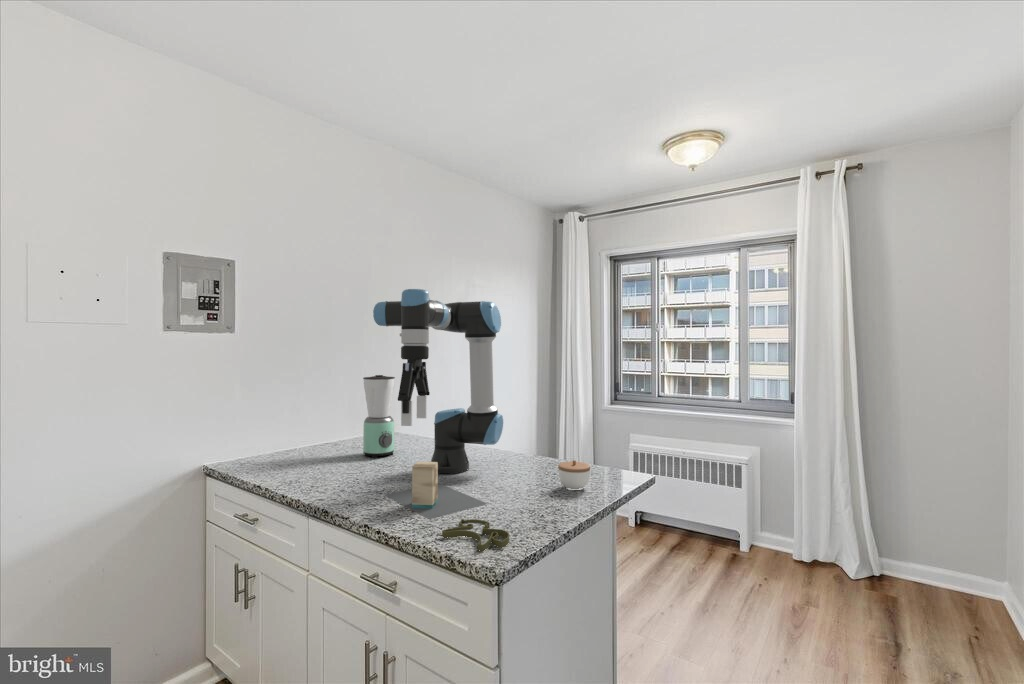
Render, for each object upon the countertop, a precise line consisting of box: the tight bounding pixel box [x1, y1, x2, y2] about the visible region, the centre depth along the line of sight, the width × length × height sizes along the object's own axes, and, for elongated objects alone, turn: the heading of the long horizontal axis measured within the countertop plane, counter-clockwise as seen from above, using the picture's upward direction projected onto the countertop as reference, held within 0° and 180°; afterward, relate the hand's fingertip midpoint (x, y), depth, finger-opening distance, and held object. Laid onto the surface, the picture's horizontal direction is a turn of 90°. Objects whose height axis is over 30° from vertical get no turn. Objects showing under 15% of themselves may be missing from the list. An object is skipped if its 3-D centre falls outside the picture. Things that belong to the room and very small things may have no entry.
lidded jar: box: [557, 459, 591, 489], centre depth 163 cm, size 11×11×9 cm
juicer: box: [362, 374, 396, 459], centre depth 213 cm, size 19×13×35 cm
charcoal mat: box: [384, 482, 488, 520], centre depth 148 cm, size 20×28×1 cm
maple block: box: [411, 461, 439, 509], centre depth 143 cm, size 6×6×12 cm
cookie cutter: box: [441, 518, 510, 552], centre depth 121 cm, size 18×12×2 cm, turn 50°
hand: (414, 421), depth 134 cm, fingers open, 13 cm apart
